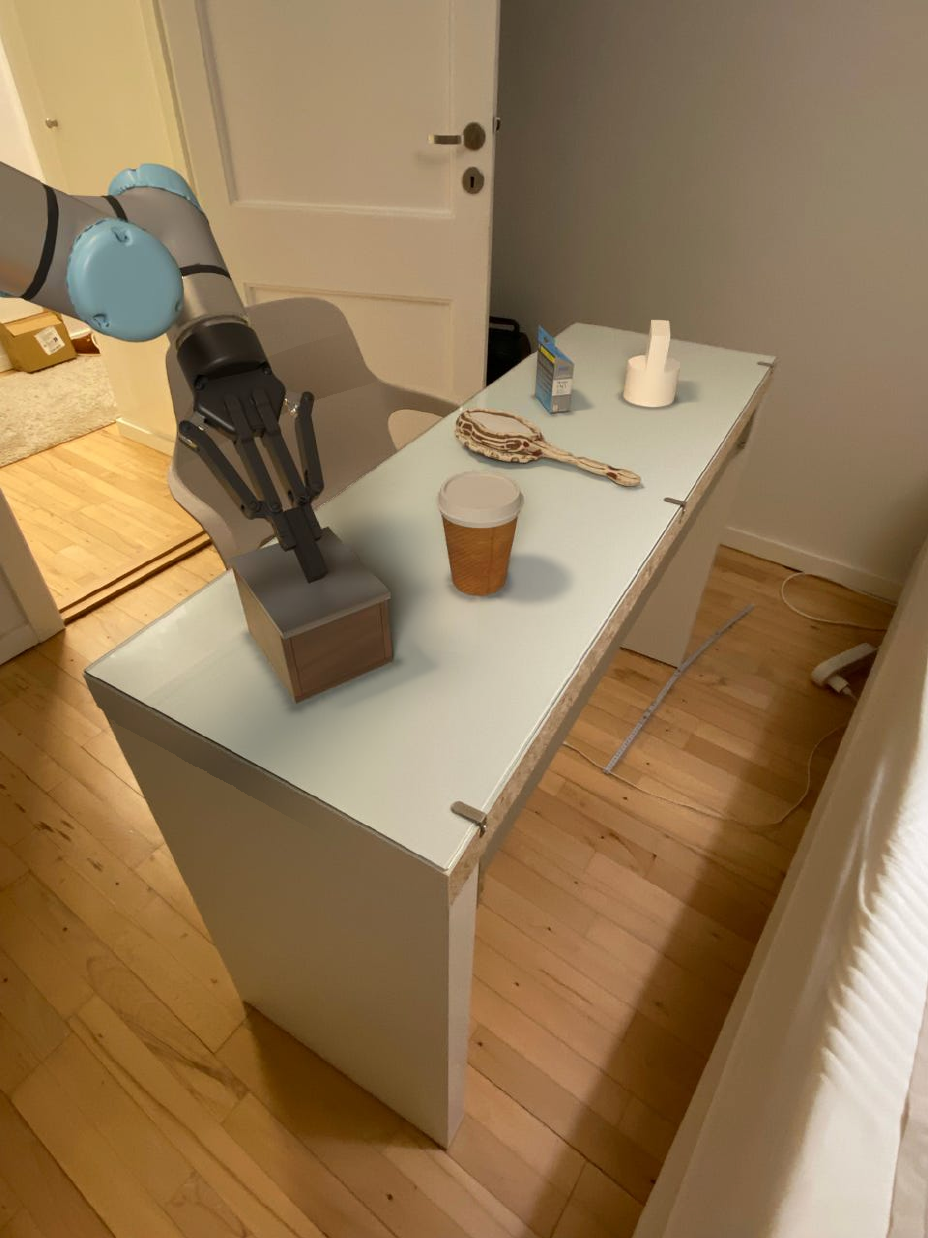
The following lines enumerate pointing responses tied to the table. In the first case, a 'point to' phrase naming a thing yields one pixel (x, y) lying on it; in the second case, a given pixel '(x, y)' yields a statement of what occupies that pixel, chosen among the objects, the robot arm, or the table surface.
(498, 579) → the disposable coffee cup
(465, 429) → the hand mirror
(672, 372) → the cylinder with rectangular tab
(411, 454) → the table surface
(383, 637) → the box
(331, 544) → the lid
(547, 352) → the ink cartridge box
